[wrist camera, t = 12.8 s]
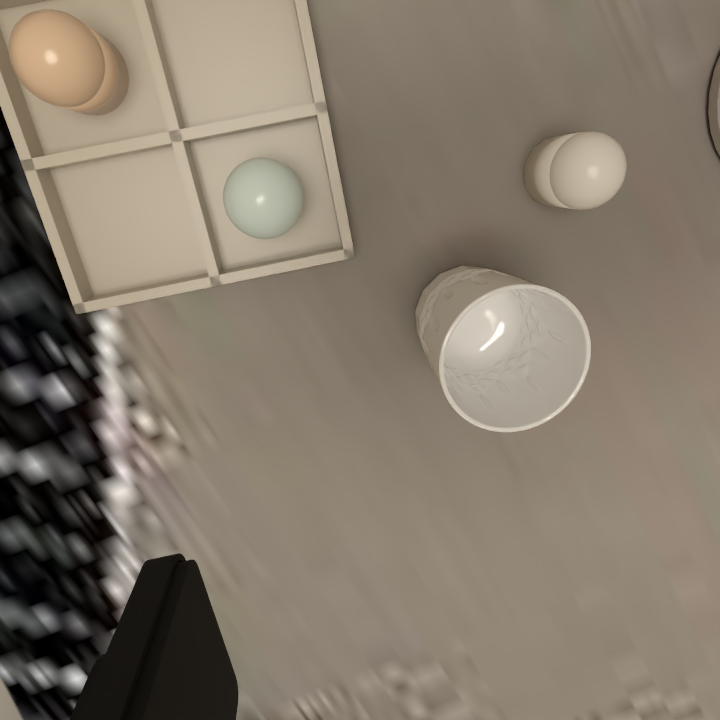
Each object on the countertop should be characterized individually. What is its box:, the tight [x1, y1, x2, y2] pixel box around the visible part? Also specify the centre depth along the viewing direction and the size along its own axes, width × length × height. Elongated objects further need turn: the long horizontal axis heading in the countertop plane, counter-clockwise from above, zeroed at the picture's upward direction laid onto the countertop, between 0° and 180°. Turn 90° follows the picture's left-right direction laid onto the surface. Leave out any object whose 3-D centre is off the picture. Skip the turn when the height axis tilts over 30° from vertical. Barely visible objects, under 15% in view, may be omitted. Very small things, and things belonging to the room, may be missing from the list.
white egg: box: [524, 131, 627, 210], centre depth 33 cm, size 4×4×6 cm
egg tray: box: [0, 0, 355, 314], centre depth 32 cm, size 17×17×2 cm
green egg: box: [223, 157, 303, 239], centre depth 31 cm, size 4×4×6 cm
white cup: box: [415, 266, 591, 432], centre depth 33 cm, size 8×8×10 cm
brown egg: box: [9, 9, 129, 116], centre depth 28 cm, size 4×4×6 cm
